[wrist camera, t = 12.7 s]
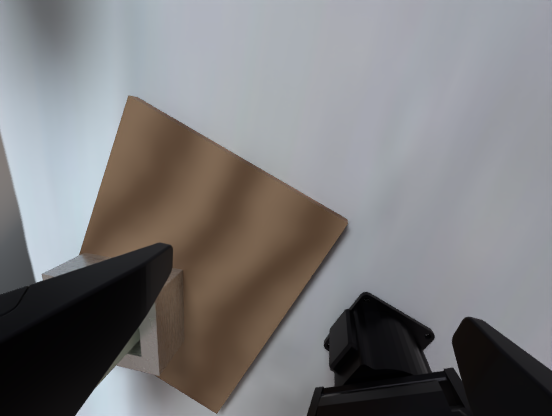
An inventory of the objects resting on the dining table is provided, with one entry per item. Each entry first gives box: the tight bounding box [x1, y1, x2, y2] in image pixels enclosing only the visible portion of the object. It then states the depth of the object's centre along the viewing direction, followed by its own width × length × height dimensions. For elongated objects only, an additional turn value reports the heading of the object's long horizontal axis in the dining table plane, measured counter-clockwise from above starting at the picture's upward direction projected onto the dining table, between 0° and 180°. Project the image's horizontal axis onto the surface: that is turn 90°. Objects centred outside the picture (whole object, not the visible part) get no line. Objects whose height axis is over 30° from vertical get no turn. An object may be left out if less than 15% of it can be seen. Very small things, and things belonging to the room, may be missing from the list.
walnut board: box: [79, 96, 348, 414], centre depth 25 cm, size 19×24×1 cm
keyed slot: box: [42, 253, 184, 376], centre depth 24 cm, size 10×8×4 cm
